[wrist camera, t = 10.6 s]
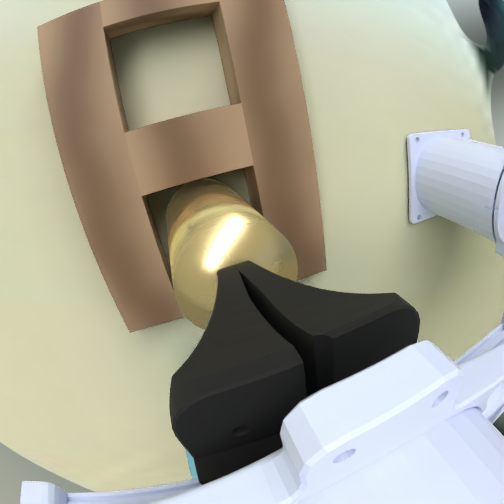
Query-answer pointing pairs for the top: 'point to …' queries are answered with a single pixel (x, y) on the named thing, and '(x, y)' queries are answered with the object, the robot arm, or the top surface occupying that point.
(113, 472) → the top surface
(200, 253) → the brass peg
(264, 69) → the jig plate
